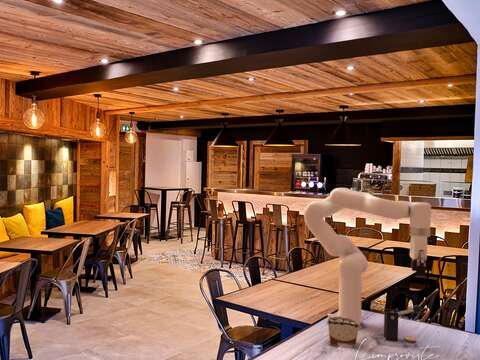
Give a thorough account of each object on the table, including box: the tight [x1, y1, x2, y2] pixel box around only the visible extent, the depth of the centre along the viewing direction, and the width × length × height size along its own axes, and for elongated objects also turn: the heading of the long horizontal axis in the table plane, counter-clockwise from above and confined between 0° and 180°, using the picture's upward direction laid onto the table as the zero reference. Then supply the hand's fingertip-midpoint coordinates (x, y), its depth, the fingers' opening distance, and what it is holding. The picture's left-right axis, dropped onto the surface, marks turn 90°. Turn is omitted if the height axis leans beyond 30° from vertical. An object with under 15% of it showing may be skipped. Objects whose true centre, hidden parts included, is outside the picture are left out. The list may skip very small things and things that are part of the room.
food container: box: [326, 317, 361, 347], centre depth 186 cm, size 12×6×10 cm, turn 71°
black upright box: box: [383, 308, 399, 343], centre depth 189 cm, size 10×8×13 cm
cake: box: [402, 334, 417, 344], centre depth 187 cm, size 5×5×3 cm
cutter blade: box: [391, 304, 423, 316], centre depth 187 cm, size 13×3×3 cm, turn 73°
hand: (418, 273), depth 193 cm, fingers open, 9 cm apart
